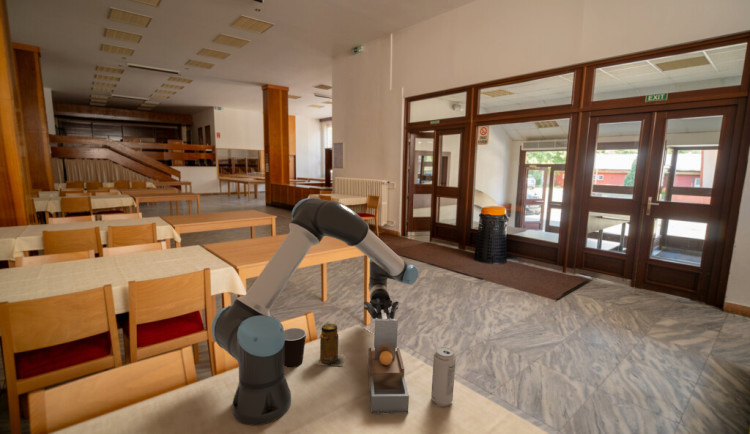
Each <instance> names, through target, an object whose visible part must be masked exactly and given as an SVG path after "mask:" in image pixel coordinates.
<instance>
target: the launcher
mask: <svg viewBox="0 0 750 434" xmlns="http://www.w3.org/2000/svg"><path fill="white" fill-rule="evenodd" d="M367 352H368V355H367V372H368V373H367V374H368V387H369V391H368V392H370V376H373V383H374V389H401V376H404V377H405V365H404V362H403V357H402V354H401V350H400V347H397V348H396V353H395V359H392V362H391V363H390V364H389V365H383V364H382V363H381V362H380V359H375V350H372V347H368V351H367Z"/></svg>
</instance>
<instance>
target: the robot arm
mask: <svg viewBox="0 0 750 434" xmlns="http://www.w3.org/2000/svg"><path fill="white" fill-rule="evenodd" d="M369 226H370V225H369V224H368V222H366V220H365V219H363V218H362V217H361V216H360V215H359V214H358V213H356V211H354V210H352V208H350V207H349V206H347V205H346V204H344V203H341V202H339V201H335V200H327V199H321V198H318V197H311V198H310V197H308V198H303V199H301V200H299V201H298V202H297V203H296V204H295V205H294V207H293V208H292V211H291V221H290V223H289V224H288V227H289V232H288V234H287V235H286V237H285V238H284V239H283V241H282V243H281V244H280V245H279V247H278V248H277V250H276V251H275V253H273V255H272V256H271V258H270V260H269V261H268V262H267V264H266V265H265V267H264V268H263V269H262V271H261V272H260V273H259V275H258V276H257V278H256V279H255V281H254V282H253V284H252V285H251V287H249V289H248V291H247V292H246V294H244V295H243V296H239V297H236V298H235V300H234V302H232V304H230V305H228V306H225V307H223V308H221V309H220V310H219V311H217V313H216V315H215V316H214V318H213V320H212V322H211V327H210V328H211V335H212V338H213V340H214V341H215V343H216V344H217V345H218V346H219V348H220V349H223V350H225V351H226V352H227V354H229V355H230V356H231V357H232V358H234V360H235V361H237V364H238V384H237V387H236V390H235V393H234V397H233V400H232V403H231V404H232V414H233V417H234V419H235V420H237V422H239V423H242V424H243V425H250V426H258V425H264V424H268V423H271V422H274V421H276V420H278V419H279V418H282V416H283V415H284V414H286V413H287V411H288V410H289V408H290V406H291V403H292V393H291V390H290V387H289V384H288V381H287V379H286V377H285V376H286V375H285V366H284V342H285V336H284V330H285V329H284V325H283V324H282V322H281V321H280V320H278V319H277V318H275V317H273V316H271V312H270V310H271V309H272V307H273V306H274V304H275V303H276V301H277V299H278V298H279V296H280V295H281V294H282V292H283V290H284V289H285V287H286V286H287V285H288V283H289V282H290V280H291V278H292V277H293V276H294V274H295V273H296V271H297V269H298V268H299V266H300V264H302V262H303V261H304V258H305V257H306V255H307V254H308V253H309V251H310V249H311V248H312V247H313V246H317V245H319V244H320V243H321V241H322V240H323V238H324V237H329V238H333V239H336V240H339V241H341V242H343V243H345V244H346V246H347V245H348V246H349V247H354V248H356V249H357V250H359V251H360V252H361V253H363V255H365V256H366V257H367V258H368V259H369V261H368V263H369V279H368V282H369V283H368V291H369V298H370V300H369V301H364V303H363V304H364V305H363V308H364V310H366V311H367V312H368V313H369V315H370V317H371V318H372V320H375V319H395V315H396V312H397V310H398V309H399V301H395V302H394V301H392V300H391V297H390V293H389V291H388V290H389V289H388V279H390V280H392V281H395V282H399V283H402V284H404V285H409V286H410V285H413V284H415V283H416V282H417V281H418V280H417V279H418V278H419V269H418V267H417V266H415V265H413V264H411V263H407V262H406V261H405V260H404V259H402V257H400V256H399V255H398V254H397V253H396V252H395V251H394V250H392V249H391V248H390V247H389V246H388V245H387V244H386V243H385V242H384V241H383V240H381V238H379V237H378V236H377V235H376V233H374V232H373V231H372V230H371V229H370V227H369ZM390 308H391V310H389V309H390ZM382 311H383V312H382Z"/></svg>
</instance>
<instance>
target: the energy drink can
mask: <svg viewBox="0 0 750 434" xmlns="http://www.w3.org/2000/svg"><path fill="white" fill-rule="evenodd" d="M456 359H457V358H456V356H455V352H454V351H453V349H451V348H449V347H445V346H440V347H437V349H436V351H435V353H434V354H433V364H432V380H431V394H430V395H431V400H432V401H433V402H434V404H435V405H437V406H439V407H448V406H450V405H451V403H452V402H453V401H454V400H453V398H454V386H455V376H456V373H455V372H456Z"/></svg>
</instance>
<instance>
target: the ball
mask: <svg viewBox="0 0 750 434" xmlns="http://www.w3.org/2000/svg"><path fill="white" fill-rule="evenodd" d="M379 359H380V362H381V363H382V364H383V365H389V364H390V363H391V362H392V359H393V357H392V354H391V353H390V352H388V351H384V352H382V353H381V354H380V357H379Z"/></svg>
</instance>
